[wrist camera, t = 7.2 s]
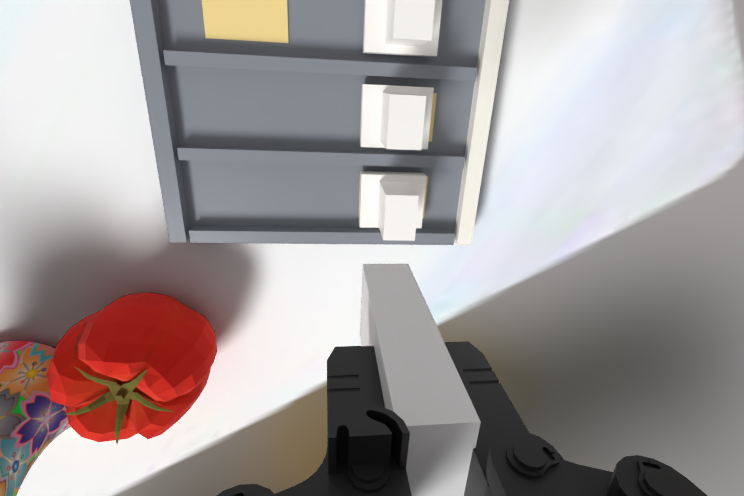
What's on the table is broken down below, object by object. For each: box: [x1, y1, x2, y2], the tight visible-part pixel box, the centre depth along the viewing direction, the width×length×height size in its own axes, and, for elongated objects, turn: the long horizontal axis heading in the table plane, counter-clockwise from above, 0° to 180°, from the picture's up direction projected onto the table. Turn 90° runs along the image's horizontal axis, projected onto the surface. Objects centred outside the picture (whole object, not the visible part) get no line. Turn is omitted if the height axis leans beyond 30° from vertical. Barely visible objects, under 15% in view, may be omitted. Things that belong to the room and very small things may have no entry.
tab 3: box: [359, 171, 427, 241], centre depth 23 cm, size 4×3×4 cm
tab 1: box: [363, 0, 442, 57], centre depth 19 cm, size 4×3×4 cm
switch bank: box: [130, 0, 509, 245], centre depth 23 cm, size 20×16×2 cm
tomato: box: [47, 293, 217, 443], centre depth 26 cm, size 9×9×8 cm
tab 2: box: [360, 84, 434, 150], centre depth 21 cm, size 4×3×4 cm
